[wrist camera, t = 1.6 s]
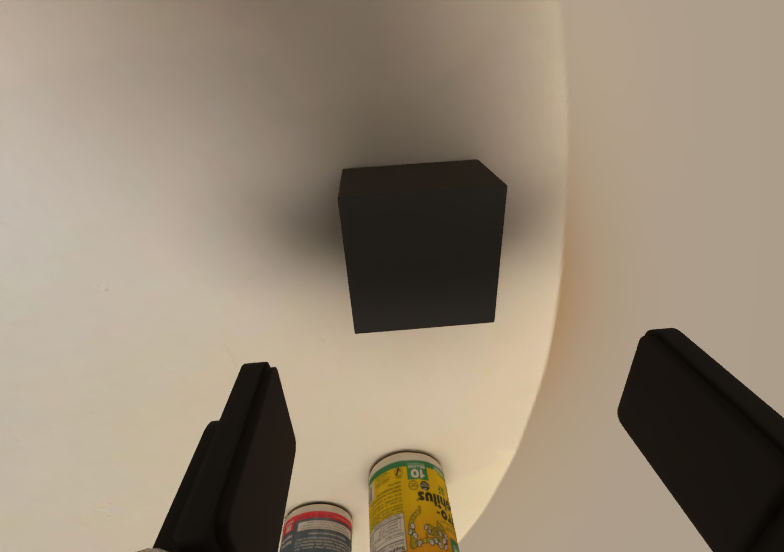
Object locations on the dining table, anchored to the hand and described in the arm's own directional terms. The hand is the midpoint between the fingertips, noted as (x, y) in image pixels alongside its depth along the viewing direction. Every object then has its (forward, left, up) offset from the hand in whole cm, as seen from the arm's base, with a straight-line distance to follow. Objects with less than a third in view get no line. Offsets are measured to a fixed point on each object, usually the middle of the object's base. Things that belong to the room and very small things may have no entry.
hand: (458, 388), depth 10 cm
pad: (0, 0, -10) cm, 10 cm away
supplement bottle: (+19, -1, -10) cm, 21 cm away
